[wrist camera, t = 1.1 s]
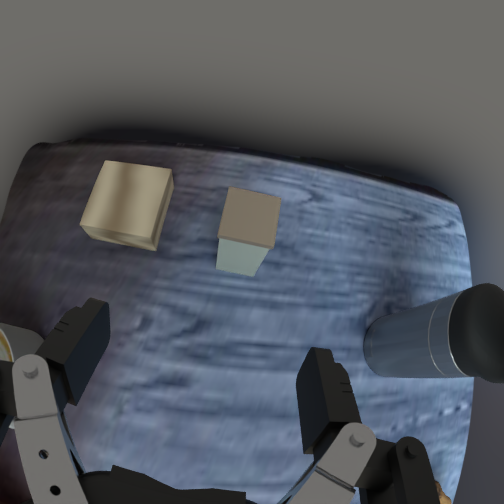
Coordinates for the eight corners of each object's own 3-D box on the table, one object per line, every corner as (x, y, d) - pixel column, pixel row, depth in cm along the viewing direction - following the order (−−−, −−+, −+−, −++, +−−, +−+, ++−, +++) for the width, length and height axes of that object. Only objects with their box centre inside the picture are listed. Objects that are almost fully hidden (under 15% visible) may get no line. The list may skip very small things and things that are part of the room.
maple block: (174, 188, 43) (171, 169, 38) (156, 251, 39) (150, 237, 35) (113, 179, 42) (105, 160, 37) (91, 238, 39) (79, 224, 34)
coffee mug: (5, 323, 32) (-36, 311, 23) (56, 336, 33) (17, 327, 24) (2, 409, 27) (-38, 414, 18) (54, 428, 29) (17, 443, 19)
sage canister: (260, 241, 42) (281, 198, 31) (254, 278, 40) (274, 246, 29) (222, 232, 41) (229, 186, 30) (213, 270, 40) (217, 234, 28)
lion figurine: (383, 493, 31) (415, 511, 23) (402, 466, 33) (438, 480, 25) (429, 511, 30) (460, 525, 22) (446, 487, 32) (478, 498, 23)
